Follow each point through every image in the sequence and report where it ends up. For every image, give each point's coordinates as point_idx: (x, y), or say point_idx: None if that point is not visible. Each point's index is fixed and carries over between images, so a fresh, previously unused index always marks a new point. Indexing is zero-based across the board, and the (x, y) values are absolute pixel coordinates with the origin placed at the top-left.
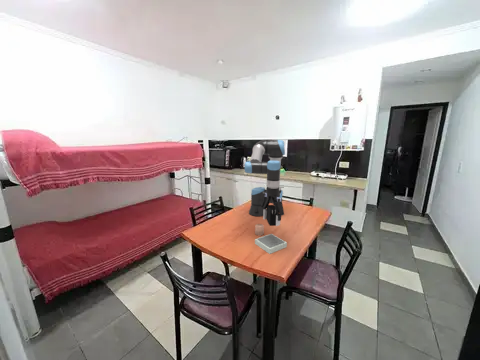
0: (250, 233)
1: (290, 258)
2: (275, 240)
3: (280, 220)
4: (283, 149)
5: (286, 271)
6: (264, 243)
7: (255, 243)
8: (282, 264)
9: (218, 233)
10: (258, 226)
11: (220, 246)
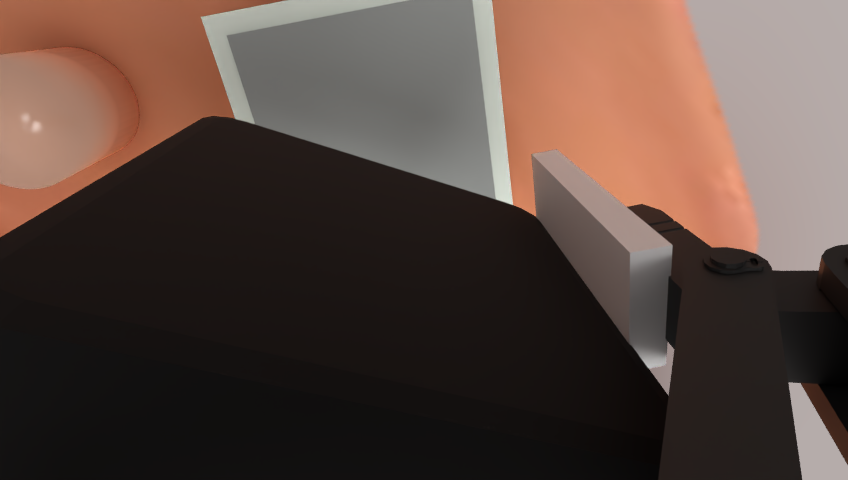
0: (64, 199)
1: (652, 70)
2: (395, 80)
3: (644, 213)
4: None
5: (744, 207)
6: None
7: None
8: (670, 187)
9: None
10: (34, 153)
11: None
